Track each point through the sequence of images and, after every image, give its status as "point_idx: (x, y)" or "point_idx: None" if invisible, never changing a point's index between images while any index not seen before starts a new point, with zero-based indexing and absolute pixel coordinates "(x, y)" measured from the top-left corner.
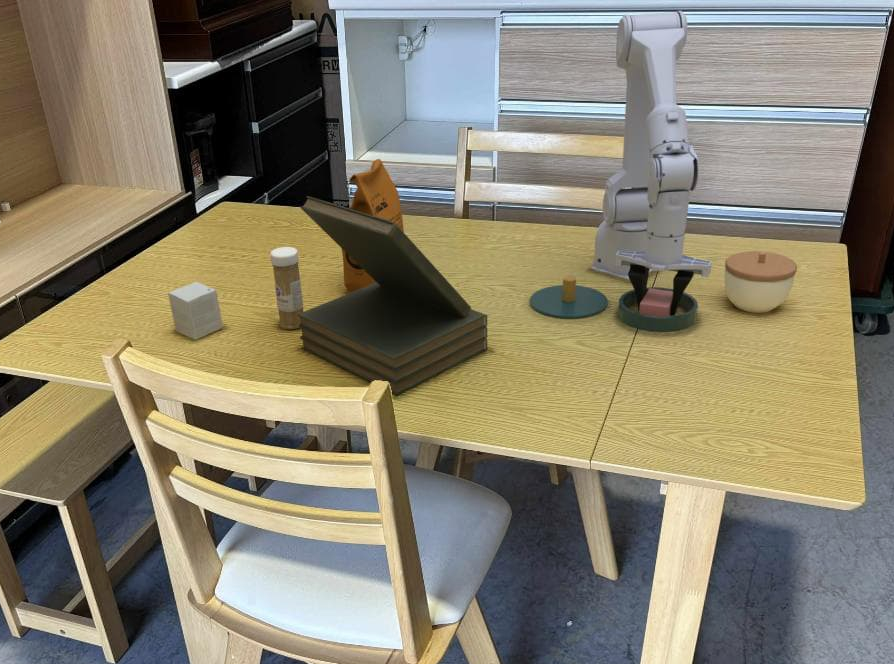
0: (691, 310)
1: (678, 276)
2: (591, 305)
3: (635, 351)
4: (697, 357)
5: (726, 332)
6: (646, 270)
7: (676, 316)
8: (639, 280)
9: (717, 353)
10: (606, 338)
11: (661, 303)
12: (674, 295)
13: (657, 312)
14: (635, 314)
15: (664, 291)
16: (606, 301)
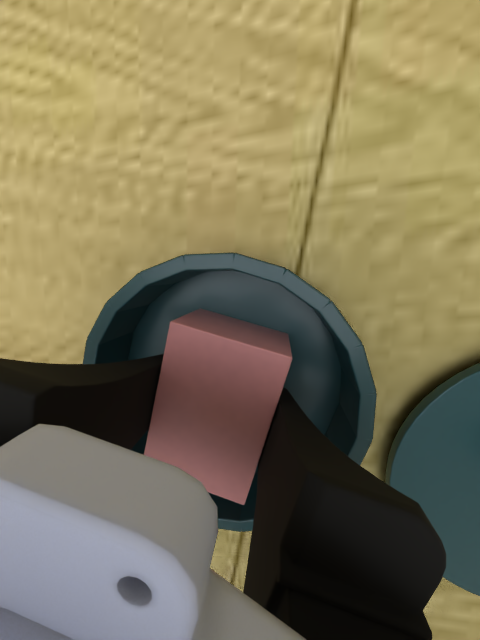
0: (97, 335)
1: (4, 440)
2: (461, 443)
3: (309, 112)
4: (111, 107)
5: (47, 299)
6: (263, 593)
7: (147, 275)
8: (320, 465)
9: (59, 151)
10: (411, 211)
11: (198, 360)
12: (127, 372)
13: (220, 327)
14: (313, 287)
15: (186, 472)
16: (395, 473)
